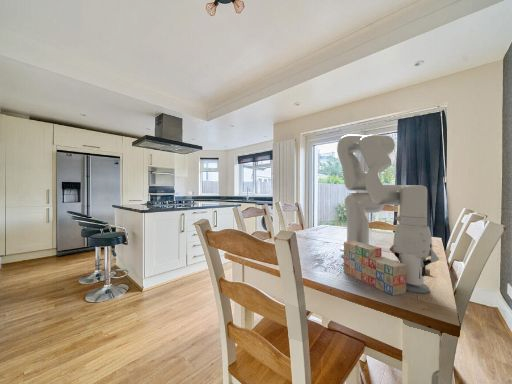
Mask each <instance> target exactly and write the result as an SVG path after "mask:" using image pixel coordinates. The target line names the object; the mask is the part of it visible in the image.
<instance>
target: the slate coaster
mask: <svg viewBox="0 0 512 384" xmlns="http://www.w3.org/2000/svg"><path fill="white" fill-rule="evenodd" d="M406 292H410V293H415V294H425V295H426V294H428V293H430V286H428V285H427V284H425V283H423V285H413V284H409V283H406Z"/></svg>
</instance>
